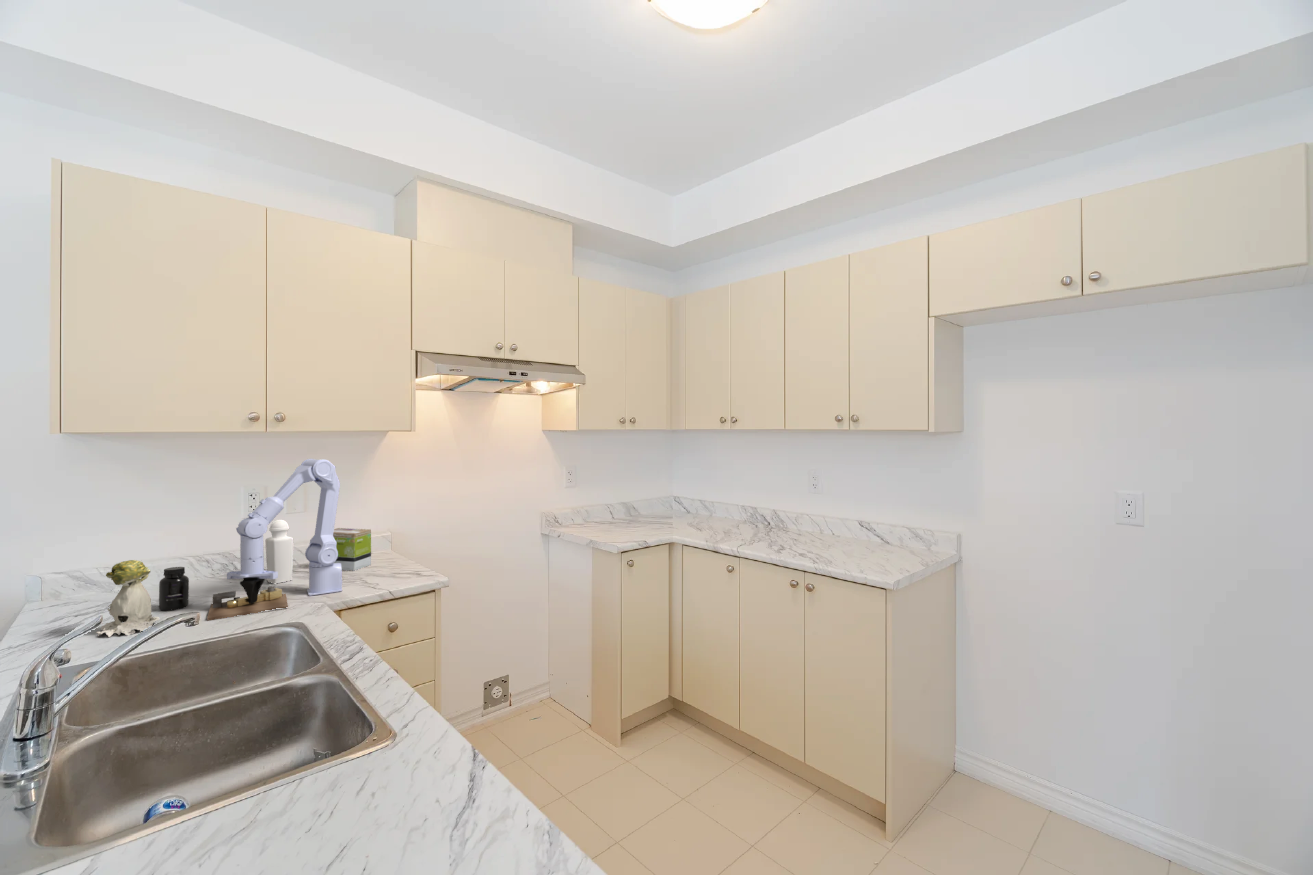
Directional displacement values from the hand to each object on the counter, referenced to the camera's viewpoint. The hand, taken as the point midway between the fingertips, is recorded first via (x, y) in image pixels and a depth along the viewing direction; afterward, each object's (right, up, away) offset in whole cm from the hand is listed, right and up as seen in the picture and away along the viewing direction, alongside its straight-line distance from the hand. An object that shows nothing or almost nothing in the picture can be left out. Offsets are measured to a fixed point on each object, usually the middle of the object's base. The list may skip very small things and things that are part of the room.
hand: (252, 602), depth 171 cm
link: (-1, 0, +2) cm, 2 cm away
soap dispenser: (-12, -1, +30) cm, 32 cm away
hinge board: (-1, -1, 0) cm, 2 cm away
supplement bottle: (-23, -2, 0) cm, 23 cm away
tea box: (0, -1, +51) cm, 51 cm away
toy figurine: (-20, -2, -19) cm, 28 cm away
